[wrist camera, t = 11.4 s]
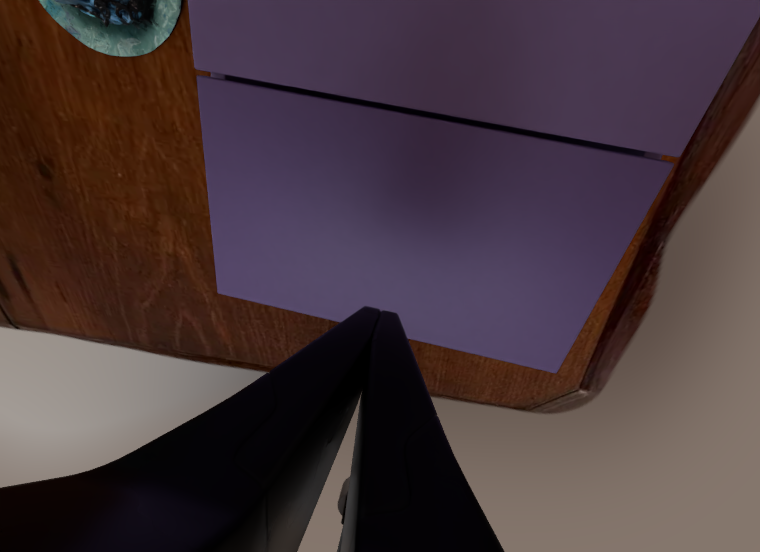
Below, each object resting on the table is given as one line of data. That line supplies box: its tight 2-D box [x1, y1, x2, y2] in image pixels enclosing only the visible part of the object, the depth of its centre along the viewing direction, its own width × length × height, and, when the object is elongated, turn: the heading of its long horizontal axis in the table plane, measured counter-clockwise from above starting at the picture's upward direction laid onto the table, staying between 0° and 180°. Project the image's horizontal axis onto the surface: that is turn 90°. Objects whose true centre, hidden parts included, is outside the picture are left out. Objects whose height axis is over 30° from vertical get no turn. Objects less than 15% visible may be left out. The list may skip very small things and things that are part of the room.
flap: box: [197, 76, 674, 373], centre depth 11 cm, size 7×13×1 cm, turn 81°
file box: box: [188, 0, 760, 160], centre depth 13 cm, size 15×13×8 cm
